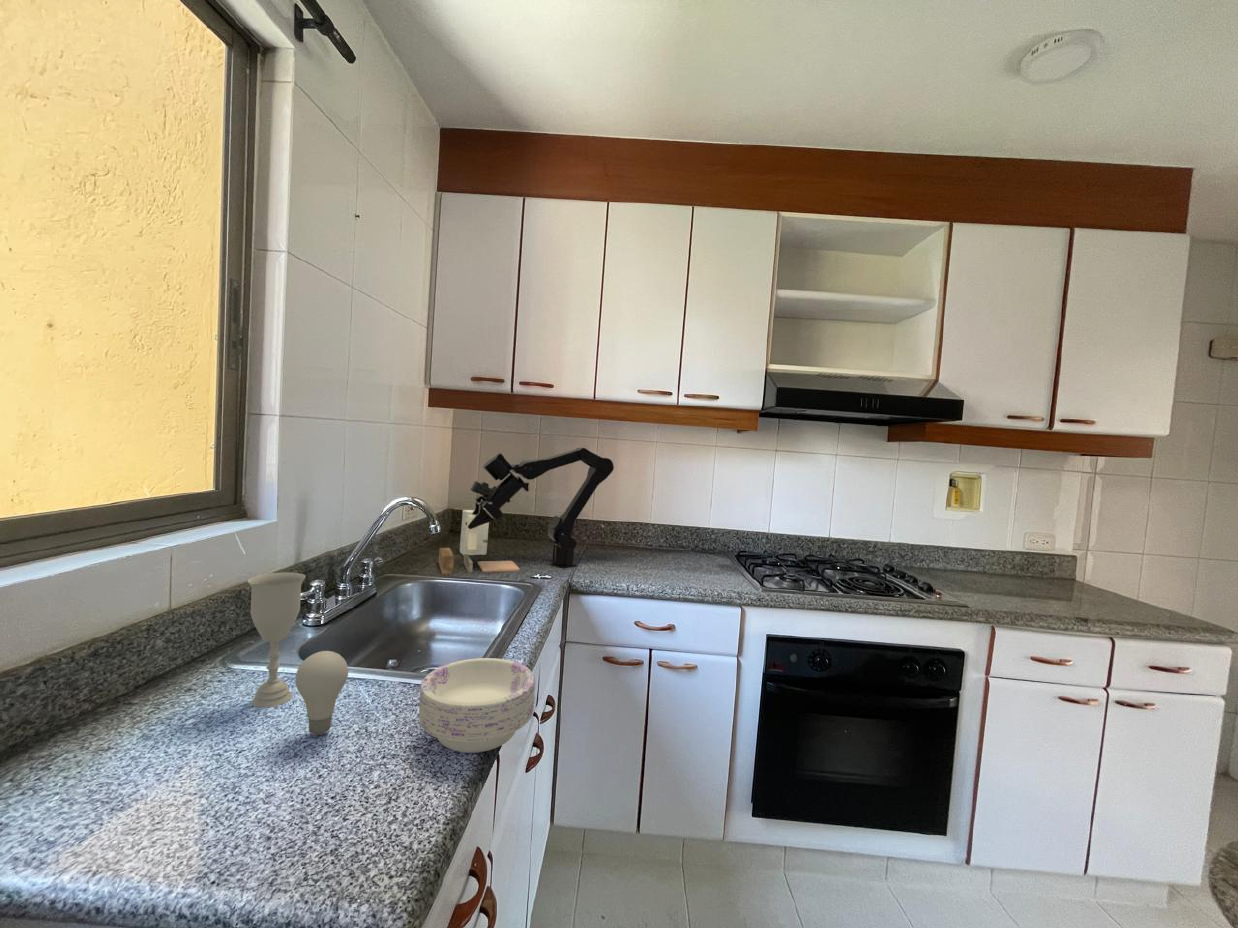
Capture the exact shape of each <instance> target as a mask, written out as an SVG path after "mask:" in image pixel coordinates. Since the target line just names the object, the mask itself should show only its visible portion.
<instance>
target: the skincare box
mask: <svg viewBox="0 0 1238 928" xmlns="http://www.w3.org/2000/svg"><path fill="white" fill-rule="evenodd" d="M474 510H475V509H463V510H462V517H461V518H462V519H461V527H460V528H461V530H460V543H459V553H460V554H461V555H462V556H463V557H464V554H468V556H485V555H487V551H488V550H487V549H488V541H489V540H488V537H489V528H490V527H489V525H490V522H488V523H485V524H483V525H480V526H478V528H477V549H476V550H468V549H467V547H466V533H467V525H466V524H465V523H466V522H467V514H472V513H473V511H474Z"/></svg>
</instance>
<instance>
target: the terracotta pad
mask: <svg viewBox="0 0 1238 928" xmlns="http://www.w3.org/2000/svg"><path fill="white" fill-rule="evenodd" d="M477 565H478V566H479V568H480V569H481V571H482V573H487V572H490V573H491V572H517V571H518V572H519V571H520V568H519V566H517V564H516V563H515V562H514V561H513V560H490V561H489V560H486V561H485V560H484V561H483V560H482V561H477Z"/></svg>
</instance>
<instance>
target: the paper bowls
mask: <svg viewBox="0 0 1238 928" xmlns="http://www.w3.org/2000/svg"><path fill="white" fill-rule="evenodd" d="M535 690H536V679H535V674H534V673H533V672H532V670H530V669H529V668H528V667H527V666H525V665H524V664H522V663H521V662H516V661H514V660H509V659H503V658H496V657H495V658H494V657H493V658H491V657H485V658H484V657H481V658H480V657H478V658H470V659H469V658H468V659H463V660H458V661H454V662H450V663H447V664H445V665H441V666H440V667H439V666H438V667H437V668H436V669H434V670H431V671H430V672H429V673H428V674H427V675H425V677H424V678H423V679H422V681H421V683H420V685H419V700H418V701H419V703H418V708H419V709H418V712H419V713H418V718H419V723H420V726H421V728H422V729H423V730H424V731H425V732H426V734H429V735H430V736H431V737H434V738H436V739H437V740H438V742H439V743H440V744H441V745H443V746H444V747H445V748H447V749H448V750H449V749H450V750H451V751H454V752H458V753H467V754H473V753H474V754H475V753H484V752H487V751H488V752H489V751H491V750H495V749H498V748H499V747H501V746H503V745H505V744H506V743H507V742H508V741H510V740H511V739H512V737H514V735H515V734H516V732H517V731H518V730H520V729H522V728H523V727H524V726H525V725H526V724H528V723H529V721H530V720H531V719H532V717H533V714H534V710H535V699H536V698H535V692H536V691H535Z"/></svg>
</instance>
